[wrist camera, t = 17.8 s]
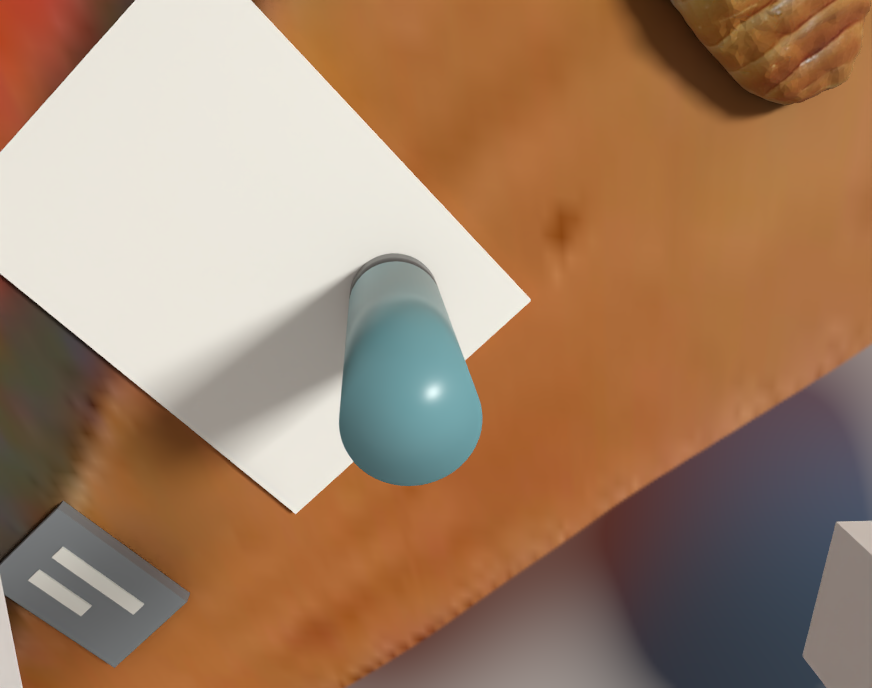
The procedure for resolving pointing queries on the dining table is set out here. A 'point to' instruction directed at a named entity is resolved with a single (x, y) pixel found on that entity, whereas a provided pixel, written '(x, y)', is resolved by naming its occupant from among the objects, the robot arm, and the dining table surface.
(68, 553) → the word tile
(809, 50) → the pastry
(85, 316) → the paper
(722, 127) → the dining table surface
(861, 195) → the dining table surface
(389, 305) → the teal rounded cylinder
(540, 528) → the dining table surface
